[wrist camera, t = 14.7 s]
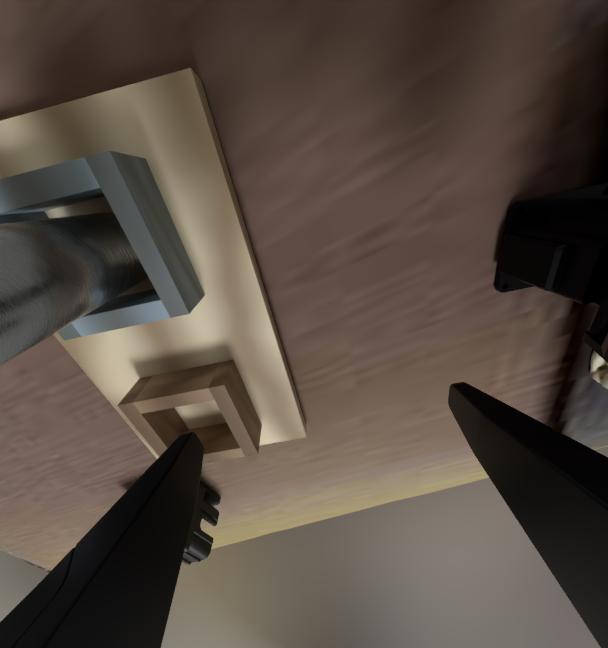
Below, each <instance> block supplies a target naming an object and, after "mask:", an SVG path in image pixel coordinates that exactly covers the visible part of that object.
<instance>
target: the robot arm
mask: <svg viewBox="0 0 608 648" xmlns="http://www.w3.org/2000/svg"><path fill="white" fill-rule="evenodd" d="M604 190H605V191H604ZM519 207H520V210H519V211H518V212H517V209H518V208H519ZM503 285H504V286H503ZM502 286H503V287H502ZM533 286H535V287H538V288H540V289H543V290H545V291H551V292H553V293H556V294H558V295H561V296H564V297H566V298H569V299H571V300H574V301H576V302H579V303H582V304H589V305H592V306H594V307H597V308H598V309H597V312H596V314H595V317H594V319H593V321H592V324H591V326H590V328H589V331H586V332H585V335H584V337H583V341H584V342H585V343H586V344H588V345H589V346H590V347H591V348H592V349H593V350H594V351H595V352H596V353H597V354H598V355H599V356H601V357H602V358H603V359H604V360H605V361H606V362H607V363H608V182H603V183H598V184H594V185H589V186H585V187H580V188H576V189H571V190H567V191H562V192H558V193H553V194H549V195H544V196H540V197H535V198H531V199H526V200H522V201H517V202H515V203H514V204H512V205H511V207H510V208H509V211H508V216H507V222H506V227H505V233H504V238H503V244H502V249H501V255H500V260H499V266H498V271H497V277H496V282H495V289H496V290H497V291H499V292H508V291H513V290H518V289H523V288H528V287H533ZM448 404H449V407H450V409H451V411H452V413H453V415H454V417H455V419H456V421H457V423H458V425H459V426H460V428H461V430H462V432H463V434H464V436H465V438H466V440H467V442H468V444H469V446H470V447H471V449H472V451H473V453H474V454H475V456H476V458H477V459H478V461H479V462H480V464H481V465H482V467H483V468H484V470H485V471H486V473H487V474H488V476H489V478H490V479H491V481H492V482H493V484H494V485H495V486H496V488H497V489H498V491H499V493H500V494H501V496H502V497H503V499H504V500H505V502H506V503H507V505H508V506H509V508H510V509H511V511H512V513H513V514H514V516H515V517H516V519H517V520H518V521H519V523H520V525H521V526H522V528H523V529H524V531H525V532H526V534H527V535H528V537H529V539H530V540H531V542H532V543H533V545H534V546H535V548H536V549H537V551H538V552H539V554H540V555H541V557H542V558H543V560H544V561H545V563H546V564H547V566H548V568H549V569H550V571H551V572H552V574H553V575H554V576H555V578H556V580H557V581H558V583H559V584H560V586H561V587H562V589H563V590H564V592H565V593H566V595H567V596H568V598H569V600H570V601H571V603H572V604H573V605H574V607H575V609H576V610H577V612H578V613H579V615H580V616H581V618H582V619H583V621H584V622H585V624H586V625H587V627H588V629H589V630H590V631H591V633H592V635H593V636H594V638H595V639H596V641H597V642H598V644H599V645H600V647H601V648H608V457H606V456H604V455H602V454H600V453H598V452H596V451H594V450H592V449H591V448H589V447H587V446H585V445H583V444H581V443H579V442H577V441H575V440H573V439H572V438H570V437H568V436H566V435H564V434H562V433H560V432H558V431H556V430H554V429H553V428H551V427H549V426H547V425H545V424H543V423H541V422H539V421H537V420H535V419H534V418H532V417H530V416H528V415H526V414H524V413H522V412H520V411H518V410H516V409H515V408H513V407H511V406H509V405H507V404H505V403H503V402H501V401H499V400H497V399H496V398H494V397H492V396H490V395H488V394H486V393H484V392H482V391H480V390H478V389H477V388H475V387H473V386H471V385H469V384H467V383H464V382H460V383H454V384H451V385H450V389H449V398H448ZM203 456H204V446H203V444H202V442H201V441H200V439H199V438H198V436H197V435H196V433H195V432H193V431H191V432H185V433H182V434H181V435H180V436H179V437H178V438H177V439H176V440H175V441H174V442H173V443H172V444H171V445H170V446H169V447H168V448H167V449H166V450H165V451H164V452H163V453H162V455H161V456H160V457H159V458H158V459H157V460H156V461H155V462H154V463H153V464H152V465H151V466H150V467H149V468H148V469H147V470H146V471H145V473H144V474H143V475H142V476H141V477H140V478H139V479H138V480H137V481H136V482H135V483H134V484H133V485H132V486H131V487H130V488H129V489H128V491H127V492H126V493H125V494H124V495H123V496H122V497H121V498H120V499H119V500H118V501H117V502H116V503H115V504H114V505H113V506H112V507H111V509H110V510H109V511H108V512H107V513H106V514H105V515H104V516H103V517H102V518H101V519H100V520H99V521H98V522H97V523H96V524H95V525H94V527H93V528H92V529H91V530H90V531H89V532H88V533H87V534H86V535H85V536H84V537H83V538H82V539H81V540H80V541H79V542H78V543H77V545H76V547H75V548H73V549H72V550H71V551H70V552H69V553H68V554H67V555H66V556H65V557H64V558H63V559H62V560H61V561H60V562H59V563H58V564H57V566H56V567H55V568H54V569H53V570H52V571H51V572H50V573H49V574H48V575H47V576H46V577H45V578H44V579H43V580H42V581H41V582H40V583H39V584H38V585H37V586H36V587H35V588H34V589H33V590H32V591H31V592H30V593H29V595H27V596H26V597H25V598H24V599H23V600H22V601H21V602H20V603H19V604H18V605H17V606H16V607H15V608H14V609H13V610H12V611H11V612H10V613H9V614H8V615H7V616H6V617H5V618H4V619H3V620H2V621H1V622H0V648H161V644H162V639H163V636H164V632H165V628H166V623H167V619H168V615H169V611H170V607H171V603H172V598H173V594H174V591H175V586H176V583H177V578H178V574H179V570H180V566H181V562H182V558H183V554H184V550H185V546H186V542H187V538H188V534H189V529H190V525H191V521H192V517H193V513H194V509H195V505H196V500H197V495H198V489H199V483H200V476H201V469H202V462H203Z"/></svg>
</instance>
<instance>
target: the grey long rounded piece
mask: <svg viewBox="0 0 608 648" xmlns="http://www.w3.org/2000/svg"><path fill="white" fill-rule="evenodd" d="M147 278H148V275H147V273H146V271H145V269H144V268H143V266H142V264H141V262H140V260H139V258H138V256H137V255H136V253H135V251H134V249H133V247H132V245H131V243H130V242H129V240H128V238H127V236H126V234H125V232H124V230H123V229H122V227H121V225H120V223H119V221H118V219H117V217H116V215H115V214H114V213H111V212H101V213H93V214H84V215H75V216H67V217H58V218H49V219H41V220H32V221H24V222H15V223H6V224H0V366H1V365H2V364H4V363H6V362H7V361H9V360H11V359H12V358H14V357H16V356H17V355H19V354H21V353H22V352H24V351H26V350H27V349H29V348H31V347H32V346H34V345H36V344H38V343H39V342H41V341H43V340H44V339H46V338H48V337H49V336H51V335H53V334H54V333H56V332H58V331H59V330H61V329H63V328H64V327H66V326H68V325H69V324H71V323H73V322H75V321H76V320H78V319H80V318H81V317H83V316H85V315H86V314H88V313H90V312H91V311H93V310H95V309H96V308H98V307H100V306H101V305H103V304H105V303H106V302H108V301H110V300H111V299H113V298H115V297H117V296H118V295H120V294H122V293H123V292H125V291H127V290H128V289H130V288H132V287H133V286H135V285H137V284H138V283H140V282H142V281H143V280H145V279H147Z"/></svg>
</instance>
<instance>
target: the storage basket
mask: <svg viewBox="0 0 608 648" xmlns="http://www.w3.org/2000/svg"><path fill="white" fill-rule="evenodd" d="M598 367H599V368H598ZM590 374H591V377H592V378H593V379H594V380H596V381H597V382H599V383H601V384H602V385H603V386H604V387H605V388H607V389H608V363H607V362H606V361H605V360H604V359H603V358H602V357H601V356H599V355H598V354H597V353H596V352H595V351H593V353H592V357H591V369H590Z"/></svg>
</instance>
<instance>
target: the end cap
mask: <svg viewBox="0 0 608 648" xmlns="http://www.w3.org/2000/svg"><path fill="white" fill-rule="evenodd" d="M220 499H221V498H220V496H218V495H217V494H216V493H215V492H214V491H213V490H211V489H210V488H209V487H208V486H207V485H205V484H203V483H199V489H198V495H197V500H196V505H195V509H194V513H193V517H192V521H191V525H190V529H189V534H188V538H187V542H186V546H185V550H184V554H183V558H182V562H184V563H186V564H190V563H192V562H196V561H197V562H200V561H201V560H203V559H205V558H207V557H208V555H209V554H210V551H211V547H212V543H213V538H212V537H211V536H209V535H208V534H206V533H205V532H203V531H202V530H201V528H200V522H201V520H202V518H203V519H204V520H206V521H207V522H209V523H210V524H211V525H213V526H216V525H217V521H218V516H219V511H218V510H217V509H215V508H214V507H213V506H214V505H218V504H219V503H220Z"/></svg>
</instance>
